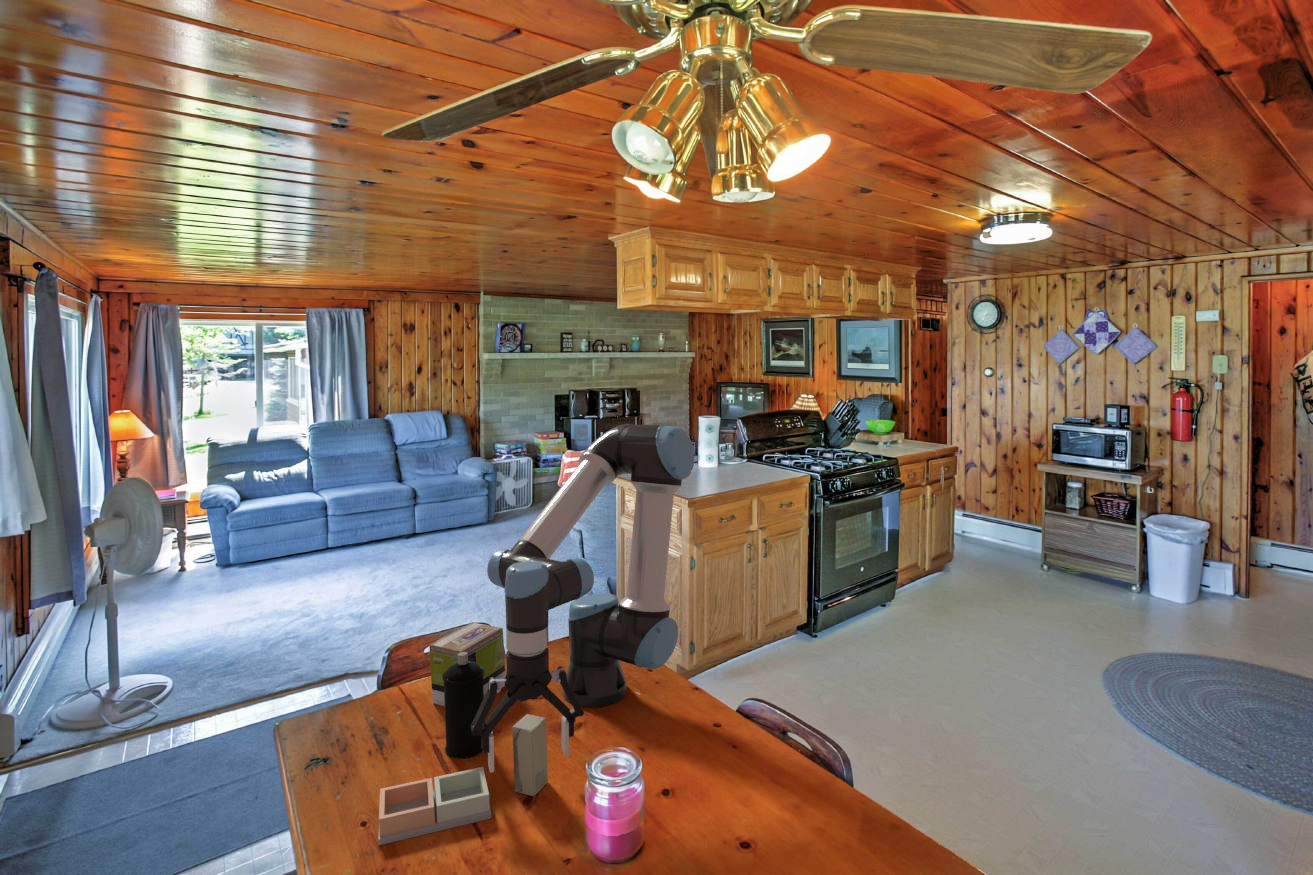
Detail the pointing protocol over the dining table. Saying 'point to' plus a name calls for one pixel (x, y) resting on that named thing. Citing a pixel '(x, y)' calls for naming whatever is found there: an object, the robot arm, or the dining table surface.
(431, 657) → the tea box
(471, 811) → the socket board
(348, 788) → the dining table surface
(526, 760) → the box
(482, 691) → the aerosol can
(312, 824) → the dining table surface
